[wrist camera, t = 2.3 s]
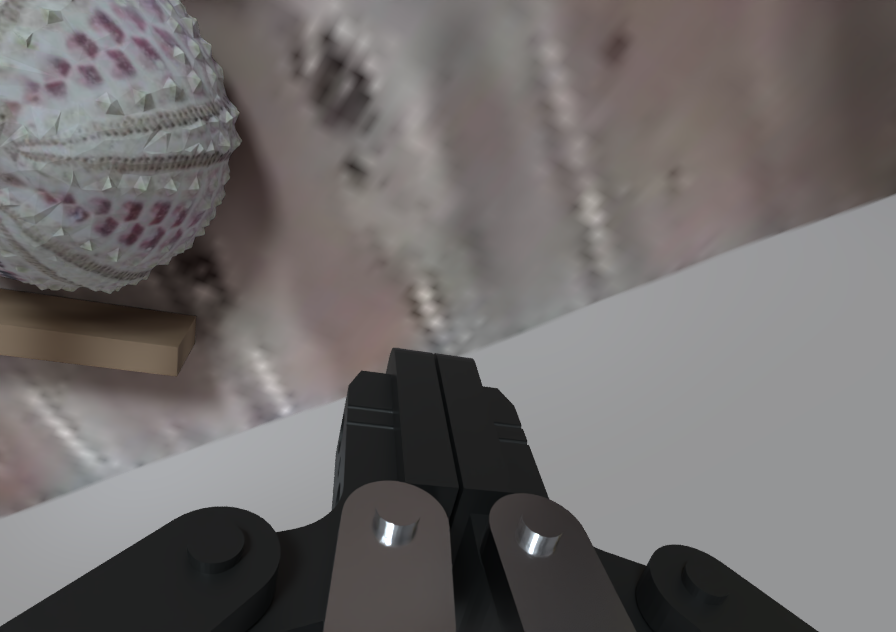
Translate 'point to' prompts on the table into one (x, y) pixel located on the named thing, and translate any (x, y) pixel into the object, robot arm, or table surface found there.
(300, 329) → the table surface
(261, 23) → the table surface
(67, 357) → the track
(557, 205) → the table surface
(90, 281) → the sea urchin shell
